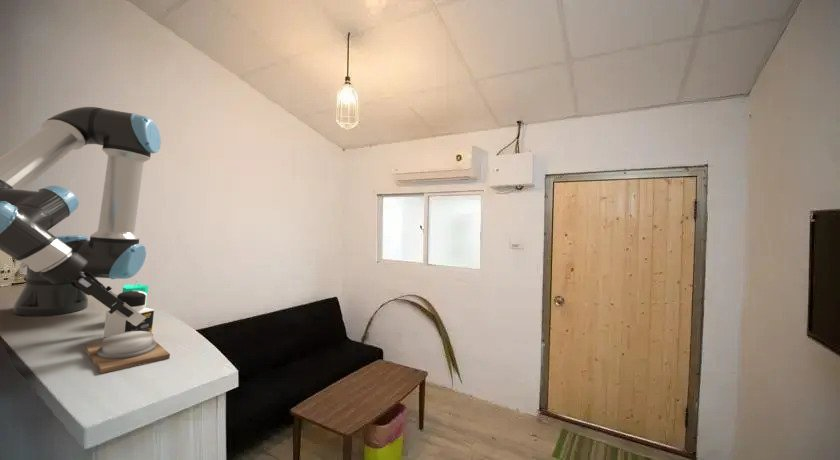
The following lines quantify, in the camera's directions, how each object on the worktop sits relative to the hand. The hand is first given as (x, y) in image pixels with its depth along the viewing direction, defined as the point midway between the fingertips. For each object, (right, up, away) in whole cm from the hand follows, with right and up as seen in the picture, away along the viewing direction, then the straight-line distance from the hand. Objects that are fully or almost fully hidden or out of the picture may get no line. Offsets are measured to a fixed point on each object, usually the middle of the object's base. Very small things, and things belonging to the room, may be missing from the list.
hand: (133, 315), depth 87 cm
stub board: (+8, -7, -10) cm, 14 cm away
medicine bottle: (-1, -6, 0) cm, 6 cm away
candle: (-11, -5, +11) cm, 16 cm away
